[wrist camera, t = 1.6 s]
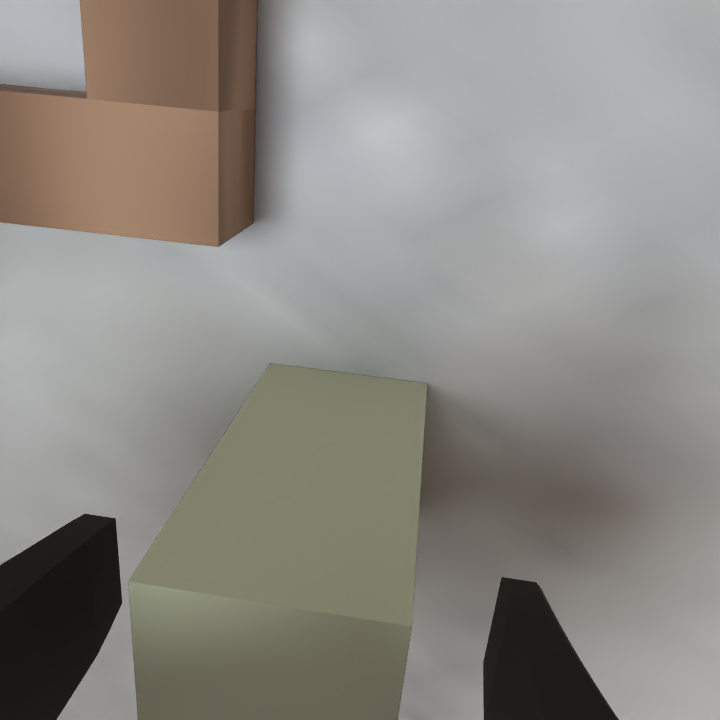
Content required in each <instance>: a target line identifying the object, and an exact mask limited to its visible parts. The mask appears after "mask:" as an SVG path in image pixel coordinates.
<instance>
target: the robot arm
mask: <svg viewBox="0 0 720 720" xmlns="http://www.w3.org/2000/svg"><path fill="white" fill-rule="evenodd" d="M121 604H122V596H121V583H120V570H119V557H118V544H117V531H116V519H115V518H109V517H102V516H96V515H89V514H84V515H82V516H80V517H78V518H77V519H75V520H73V521H71V522H70V523H68V524H66V525H65V526H63V527H61V528H60V529H58V530H57V531H55V532H53V533H52V534H50V535H49V536H47V537H45V538H44V539H42V540H41V541H39V542H37V543H36V544H34V545H32V546H31V547H29V548H28V549H26V550H24V551H23V552H21V553H20V554H18V555H16V556H15V557H13V558H11V559H10V560H8V561H6V562H5V563H3V564H1V565H0V720H56V719H57V718H58V716H59V715H60V713H61V712H62V710H63V708H64V707H65V705H66V704H67V702H68V701H69V699H70V697H71V696H72V694H73V693H74V691H75V690H76V688H77V686H78V685H79V683H80V682H81V680H82V679H83V677H84V675H85V674H86V672H87V671H88V669H89V667H90V666H91V664H92V663H93V661H94V659H95V658H96V656H97V654H98V652H99V650H100V648H101V646H102V644H103V642H104V640H105V638H106V636H107V634H108V632H109V630H110V628H111V626H112V624H113V622H114V619H115V617H116V615H117V613H118V611H119V609H120V606H121ZM483 677H484V720H619V719H618V718H617V716H616V715H615V713H614V712H613V711H612V709H611V708H610V706H609V704H608V703H607V701H606V700H605V698H604V697H603V695H602V694H601V692H600V691H599V689H598V687H597V686H596V684H595V683H594V681H593V679H592V678H591V676H590V675H589V673H588V671H587V670H586V668H585V667H584V665H583V663H582V662H581V660H580V658H579V657H578V655H577V653H576V652H575V650H574V648H573V647H572V645H571V643H570V641H569V640H568V638H567V636H566V634H565V633H564V631H563V629H562V627H561V625H560V624H559V622H558V620H557V618H556V616H555V614H554V613H553V611H552V609H551V607H550V605H549V603H548V601H547V599H546V597H545V595H544V593H543V591H542V589H541V588H540V587H539V585H538V584H537V583H536V582H530V581H523V580H517V579H510V578H504V577H502V578H501V583H500V587H499V592H498V597H497V601H496V606H495V611H494V615H493V620H492V625H491V629H490V634H489V639H488V643H487V648H486V652H485V657H484V662H483Z"/></svg>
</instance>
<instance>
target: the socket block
mask: <svg viewBox="0 0 720 720" xmlns="http://www.w3.org/2000/svg"><path fill="white" fill-rule="evenodd" d="M80 9H81V22H82V36H83V49H84V63H85V77H86V90H87V92H76V91H66V90H55V89H45V88H35V87H24V86H14V85H3V84H0V222H3V223H12V224H21V225H30V226H39V227H47V228H56V229H65V230H74V231H83V232H91V233H100V234H109V235H118V236H127V237H136V238H144V239H153V240H162V241H171V242H180V243H188V244H197V245H206V246H215V247H219V246H221V245H222V244H223V243H225V242H226V241H228V240H229V239H231V238H232V237H234V236H235V235H237V234H238V233H240V232H241V231H243V230H244V229H246V228H247V227H248V226H250V225H251V224H253V194H254V144H255V94H256V44H257V0H80Z"/></svg>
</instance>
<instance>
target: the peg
mask: <svg viewBox="0 0 720 720" xmlns="http://www.w3.org/2000/svg"><path fill="white" fill-rule="evenodd" d="M426 395H427V383H421V382H413V381H405V380H397V379H389V378H381V377H374V376H366V375H358V374H350V373H342V372H334V371H326V370H319V369H311V368H303V367H295V366H287V365H279V364H272V363H270V364H269V365H268V367H267V368H266V370H265V372H264V373H263V375H262V376H261V378H260V379H259V381H258V382H257V384H256V385H255V387H254V389H253V390H252V392H251V393H250V395H249V396H248V398H247V399H246V401H245V402H244V404H243V405H242V407H241V409H240V410H239V412H238V413H237V415H236V416H235V418H234V419H233V421H232V422H231V424H230V426H229V427H228V429H227V430H226V432H225V433H224V435H223V436H222V438H221V439H220V441H219V442H218V444H217V446H216V447H215V449H214V450H213V452H212V453H211V455H210V456H209V458H208V459H207V461H206V463H205V464H204V466H203V467H202V469H201V470H200V472H199V473H198V475H197V476H196V478H195V479H194V481H193V483H192V484H191V486H190V487H189V489H188V490H187V492H186V493H185V495H184V496H183V498H182V500H181V501H180V503H179V504H178V506H177V507H176V509H175V510H174V512H173V513H172V515H171V516H170V518H169V520H168V521H167V523H166V524H165V526H164V527H163V529H162V530H161V532H160V533H159V535H158V537H157V538H156V540H155V541H154V543H153V544H152V546H151V547H150V549H149V550H148V552H147V553H146V555H145V557H144V558H143V560H142V561H141V563H140V564H139V566H138V567H137V569H136V570H135V572H134V574H133V575H132V577H131V578H130V580H129V581H128V586H129V600H130V615H131V629H132V643H133V657H134V672H135V686H136V700H137V714H138V720H398V714H399V708H400V701H401V695H402V688H403V681H404V675H405V668H406V662H407V655H408V649H409V642H410V635H411V629H412V616H413V601H414V585H415V569H416V553H417V537H418V522H419V506H420V490H421V474H422V458H423V443H424V427H425V411H426Z"/></svg>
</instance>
